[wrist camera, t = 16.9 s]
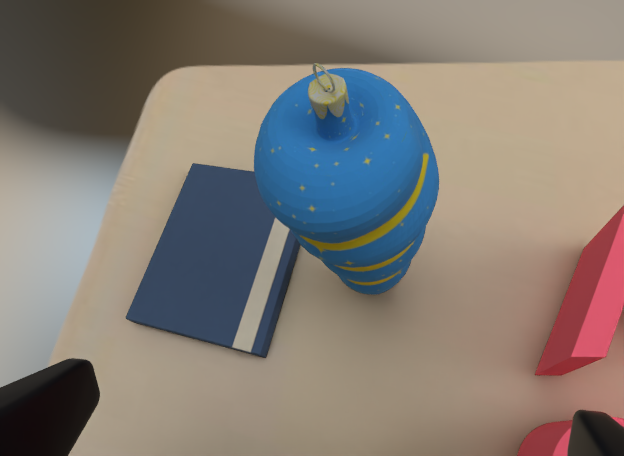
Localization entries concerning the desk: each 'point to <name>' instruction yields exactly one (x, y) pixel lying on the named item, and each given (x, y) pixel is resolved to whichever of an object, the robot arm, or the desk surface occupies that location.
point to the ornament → (349, 174)
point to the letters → (583, 326)
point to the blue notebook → (218, 264)
